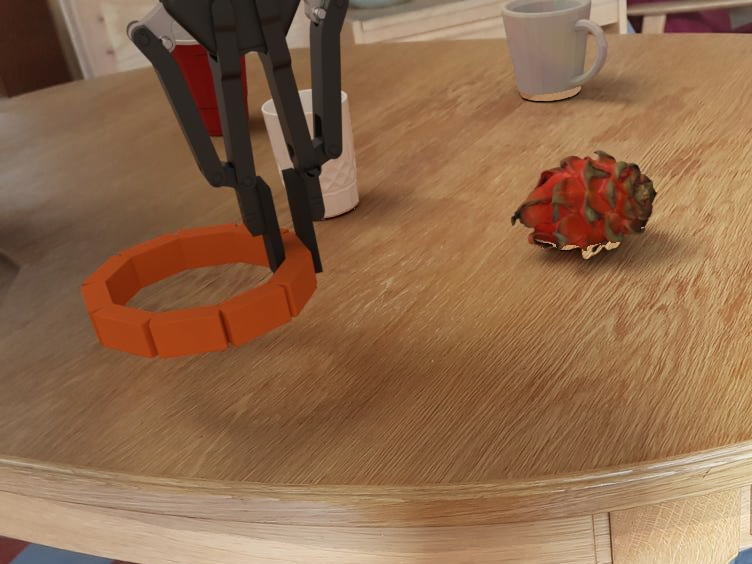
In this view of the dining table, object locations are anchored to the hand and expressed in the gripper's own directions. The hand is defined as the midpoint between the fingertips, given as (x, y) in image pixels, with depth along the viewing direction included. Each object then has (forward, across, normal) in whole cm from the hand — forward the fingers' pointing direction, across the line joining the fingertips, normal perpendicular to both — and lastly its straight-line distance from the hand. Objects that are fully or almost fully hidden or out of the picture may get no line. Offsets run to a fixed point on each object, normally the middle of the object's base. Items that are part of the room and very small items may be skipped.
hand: (296, 269), depth 66 cm
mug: (+7, +45, +42) cm, 62 cm away
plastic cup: (+7, +8, +60) cm, 61 cm away
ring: (0, -6, 0) cm, 7 cm away
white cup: (+7, +10, +27) cm, 29 cm away
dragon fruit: (+7, +25, +3) cm, 26 cm away
